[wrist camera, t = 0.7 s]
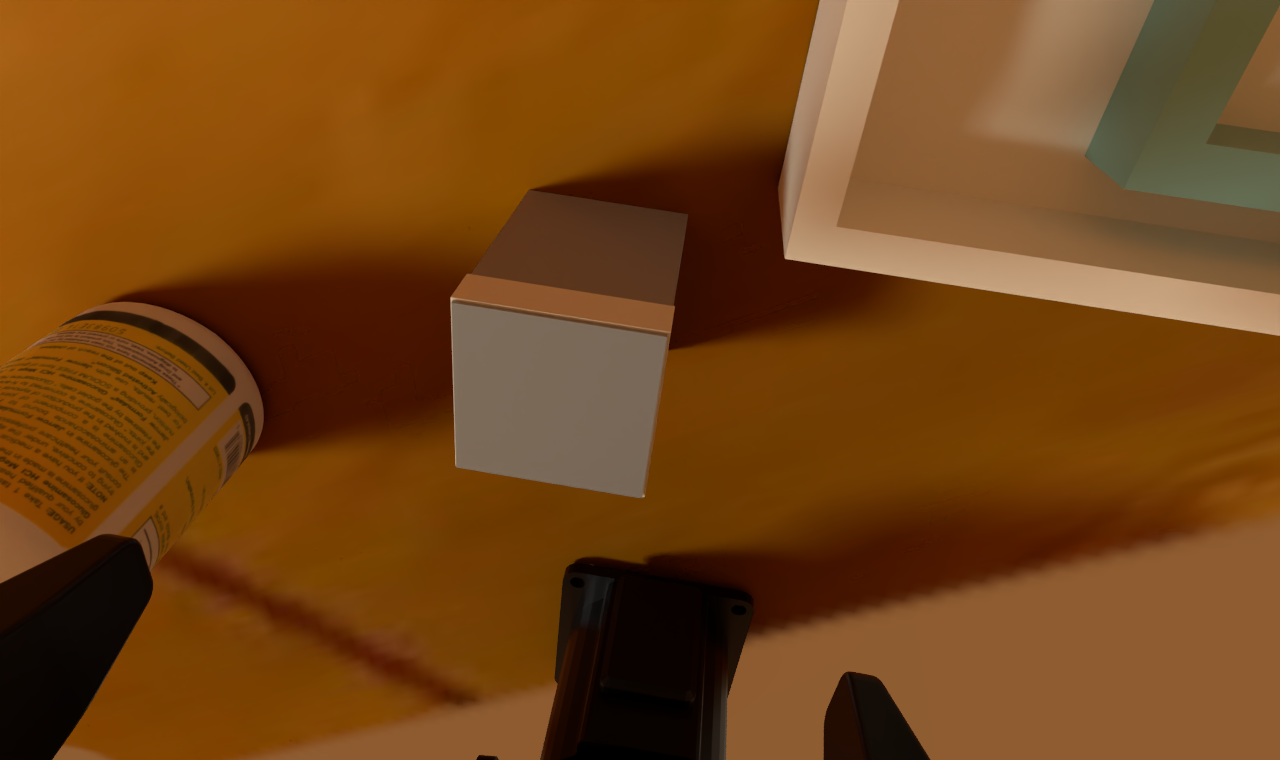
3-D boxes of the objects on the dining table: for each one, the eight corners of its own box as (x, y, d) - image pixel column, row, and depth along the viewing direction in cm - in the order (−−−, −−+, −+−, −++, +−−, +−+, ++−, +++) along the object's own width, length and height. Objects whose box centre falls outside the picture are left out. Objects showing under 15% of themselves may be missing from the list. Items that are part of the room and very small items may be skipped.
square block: (668, 352, 21) (643, 500, 16) (522, 328, 21) (453, 468, 16) (690, 212, 19) (670, 335, 14) (527, 187, 19) (448, 300, 14)
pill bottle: (33, 306, 23) (-448, 597, 14) (211, 281, 21) (-184, 584, 12) (143, 466, 26) (-184, 788, 17) (304, 452, 25) (45, 792, 16)
